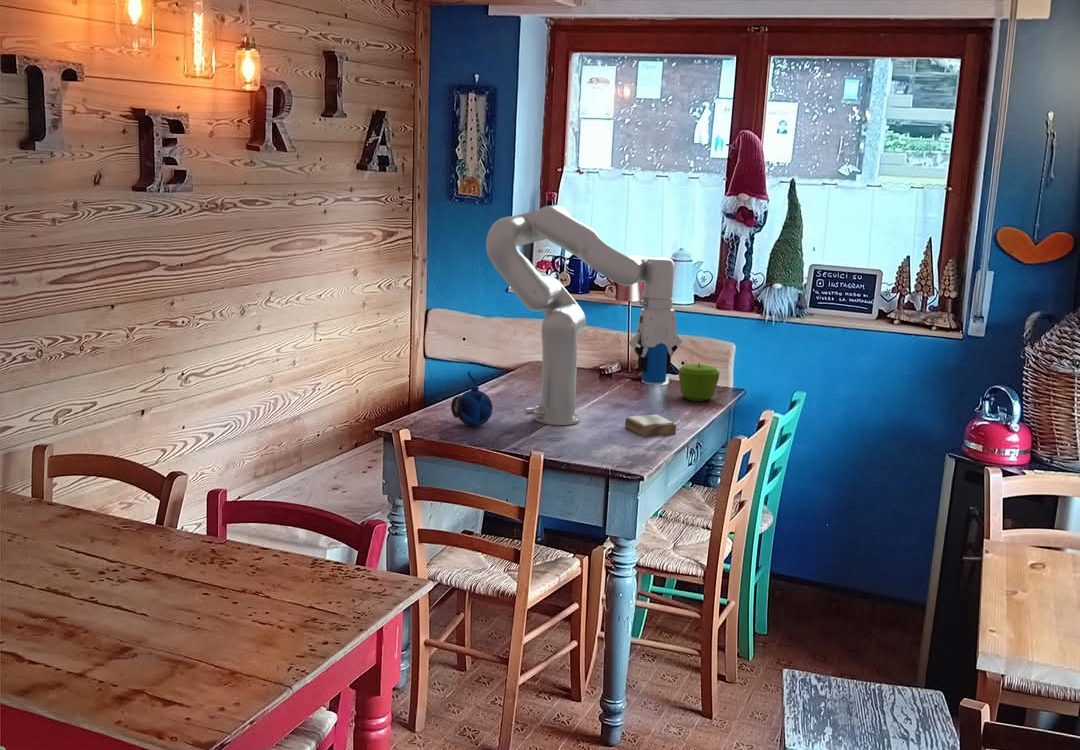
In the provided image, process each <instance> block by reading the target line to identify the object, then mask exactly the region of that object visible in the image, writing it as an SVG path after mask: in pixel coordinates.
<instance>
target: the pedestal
mask: <svg viewBox="0 0 1080 750" xmlns="http://www.w3.org/2000/svg"><path fill="white" fill-rule="evenodd" d="M624 421H625V423H624V427H625V428H626V429H628V430H630V431H632V432H634V433H636V434H638V435H640V436H642V437H650V436H652V437H653V436H663V435H674V434H676V433H677V432H676V431H677V424H676V423H675V422H674V421H671V420H669V419H667V418H665V417H663V416H661V415H659V414H649V415H635V416H634V415H633V416H632V415H631V416H627V418H625V420H624Z"/></svg>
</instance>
